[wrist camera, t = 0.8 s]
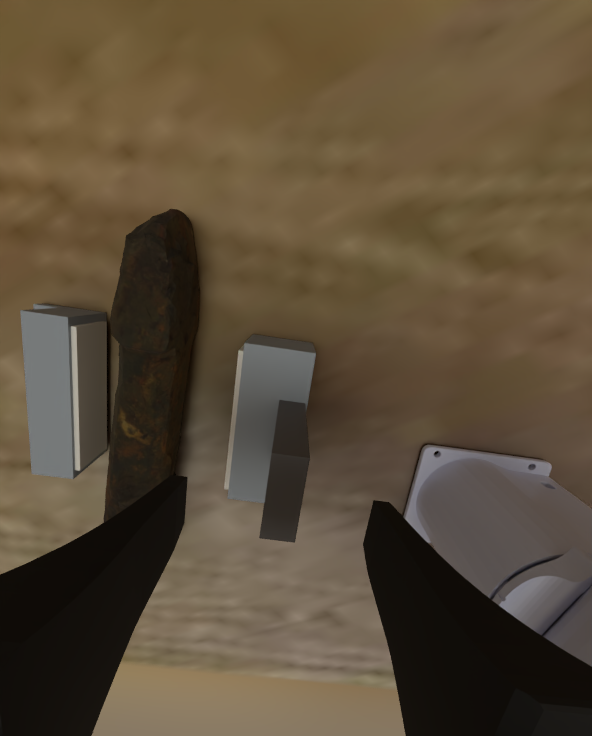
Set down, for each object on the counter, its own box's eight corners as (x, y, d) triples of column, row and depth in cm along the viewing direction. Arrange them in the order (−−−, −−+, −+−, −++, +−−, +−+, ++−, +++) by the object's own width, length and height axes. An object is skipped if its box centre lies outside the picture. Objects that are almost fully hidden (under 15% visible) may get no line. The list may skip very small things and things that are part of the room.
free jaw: (312, 342, 20) (326, 386, 11) (291, 474, 23) (288, 598, 14) (248, 333, 20) (209, 369, 11) (233, 467, 23) (191, 587, 14)
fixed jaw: (111, 313, 20) (73, 318, 17) (111, 450, 22) (78, 479, 19) (43, 303, 20) (-9, 306, 16) (50, 443, 22) (6, 470, 19)
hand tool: (179, 532, 24) (147, 600, 19) (118, 518, 24) (67, 584, 19) (243, 236, 19) (224, 215, 14) (167, 213, 19) (116, 183, 13)
